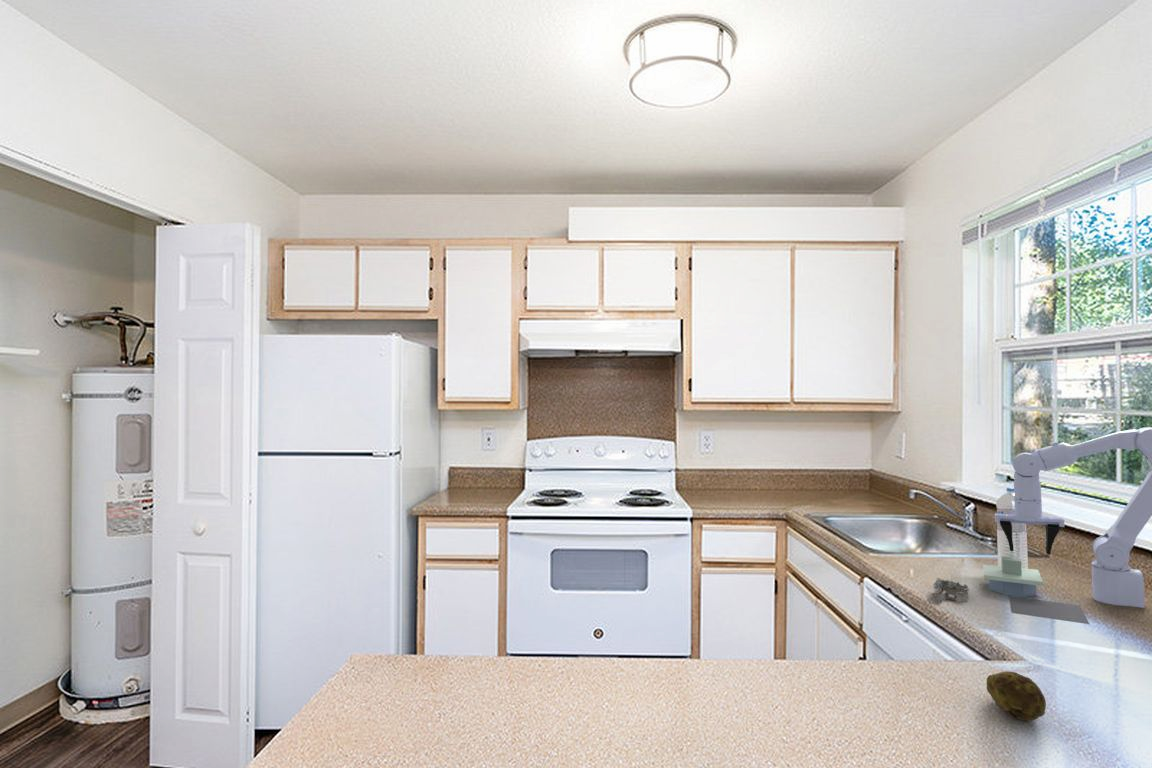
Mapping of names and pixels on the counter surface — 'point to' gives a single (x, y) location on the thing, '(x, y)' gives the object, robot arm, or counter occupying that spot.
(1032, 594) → the bowl
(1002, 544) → the water bottle
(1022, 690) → the potato
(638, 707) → the counter surface
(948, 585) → the egg carton
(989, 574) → the lid
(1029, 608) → the mat
